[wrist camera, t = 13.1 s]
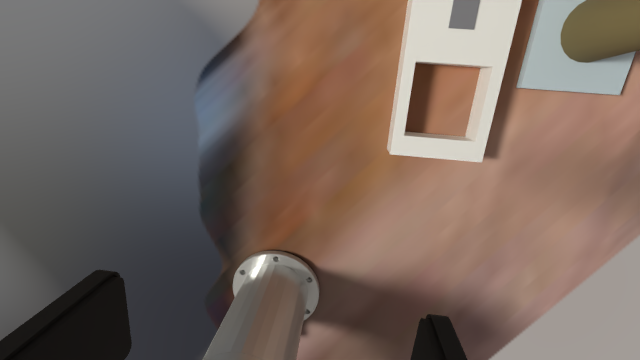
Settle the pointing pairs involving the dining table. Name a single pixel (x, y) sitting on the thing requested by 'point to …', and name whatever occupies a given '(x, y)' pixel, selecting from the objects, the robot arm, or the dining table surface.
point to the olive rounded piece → (601, 30)
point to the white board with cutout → (455, 50)
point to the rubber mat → (566, 58)
